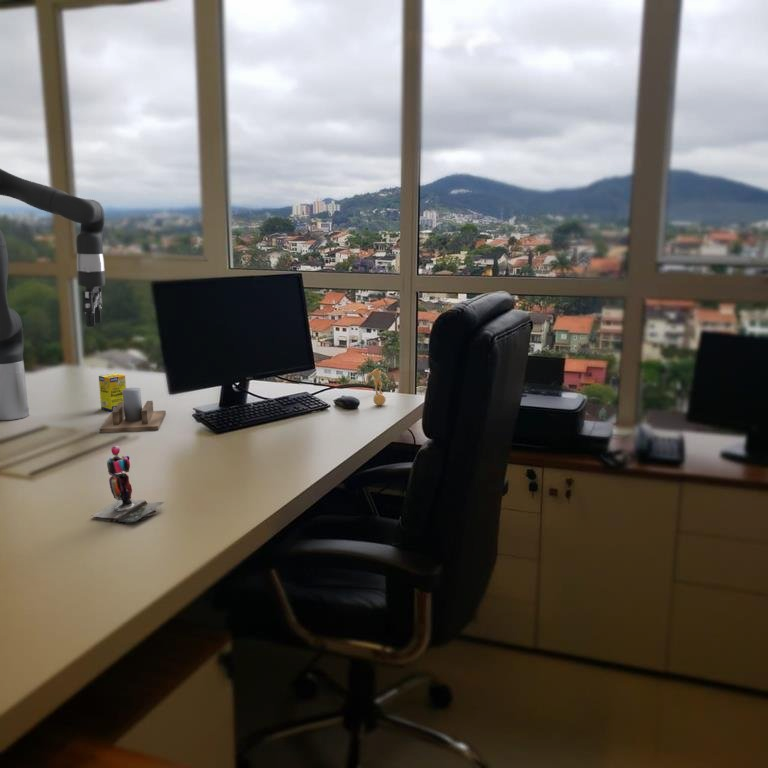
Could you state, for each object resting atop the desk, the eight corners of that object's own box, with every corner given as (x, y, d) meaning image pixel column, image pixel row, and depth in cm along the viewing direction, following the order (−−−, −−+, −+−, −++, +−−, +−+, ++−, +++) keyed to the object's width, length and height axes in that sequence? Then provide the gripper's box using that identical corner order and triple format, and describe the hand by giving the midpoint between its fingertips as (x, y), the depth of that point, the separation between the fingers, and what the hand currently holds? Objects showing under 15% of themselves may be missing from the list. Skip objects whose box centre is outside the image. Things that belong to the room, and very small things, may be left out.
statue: (92, 525, 148) (77, 453, 146) (124, 507, 157) (110, 440, 154) (135, 526, 144) (121, 453, 142) (165, 508, 153) (152, 439, 150)
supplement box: (111, 412, 231) (108, 378, 229) (100, 409, 235) (97, 375, 232) (128, 408, 236) (125, 374, 233) (117, 405, 239) (114, 372, 237)
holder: (99, 432, 208) (98, 415, 207) (111, 416, 226) (110, 400, 224) (158, 430, 211) (157, 412, 210) (165, 414, 228) (164, 397, 227)
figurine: (369, 407, 236) (369, 371, 233) (363, 403, 241) (362, 367, 239) (393, 405, 239) (393, 369, 236) (386, 401, 244) (386, 366, 242)
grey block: (123, 421, 215) (121, 392, 213) (126, 417, 220) (123, 388, 218) (141, 420, 216) (139, 391, 214) (143, 416, 221) (141, 387, 219)
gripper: (83, 267, 222) (86, 321, 225) (71, 270, 208) (74, 327, 211) (109, 268, 223) (112, 321, 226) (99, 271, 209) (102, 327, 212)
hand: (94, 324), depth 219 cm, fingers open, 8 cm apart
